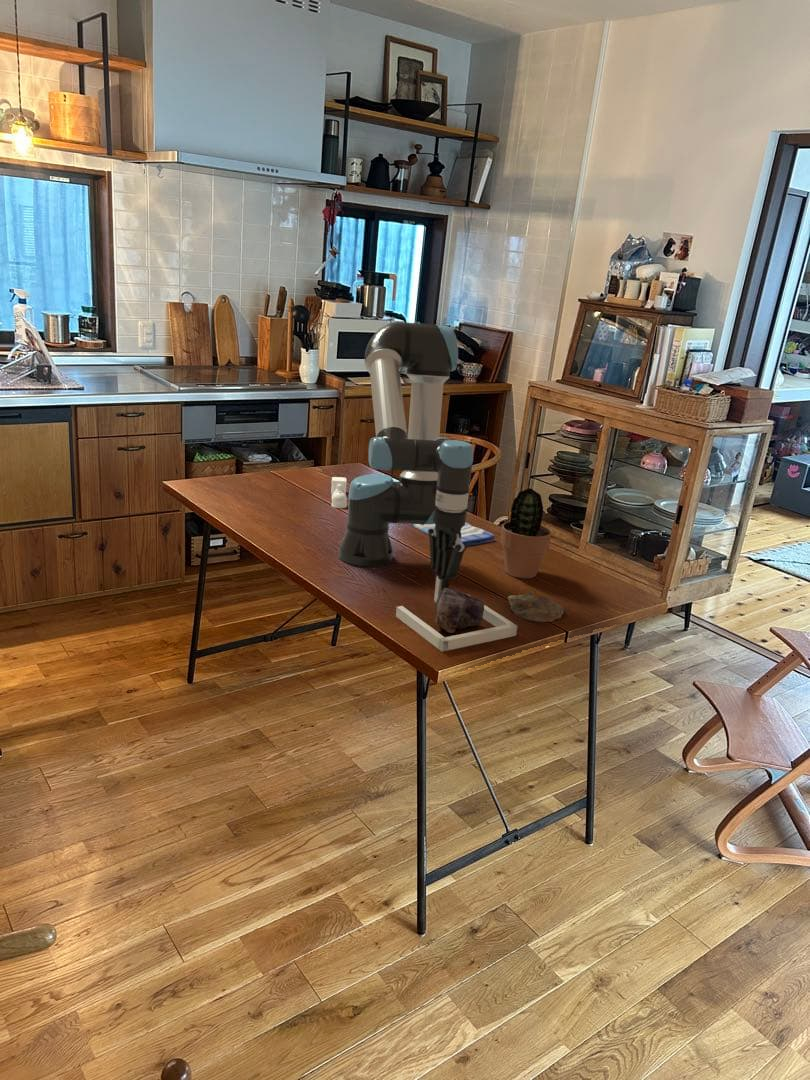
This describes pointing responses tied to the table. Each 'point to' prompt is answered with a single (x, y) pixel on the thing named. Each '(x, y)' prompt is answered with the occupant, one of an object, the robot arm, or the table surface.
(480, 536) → the dish towel
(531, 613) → the oyster shell
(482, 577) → the table surface
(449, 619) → the rock
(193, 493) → the table surface
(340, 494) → the container set
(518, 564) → the potted plant
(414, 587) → the table surface
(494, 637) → the bay
